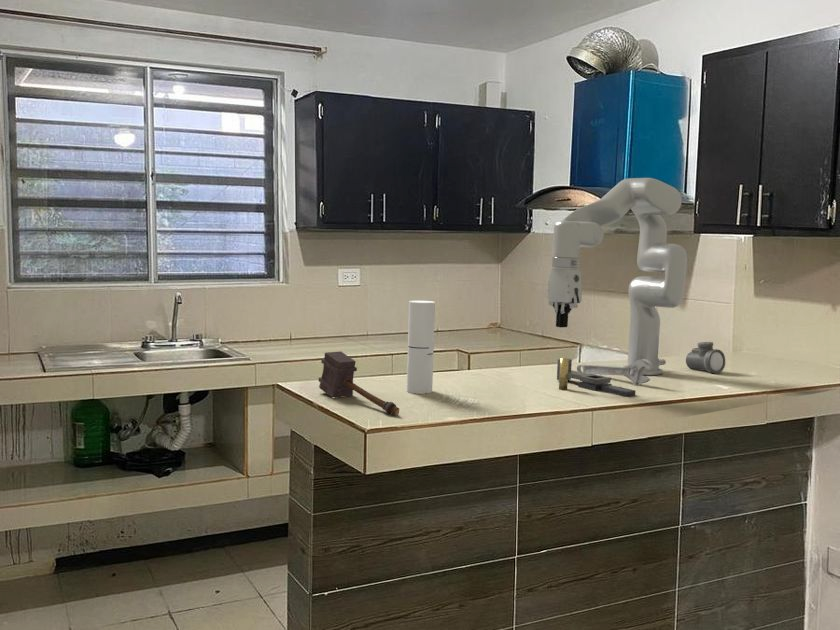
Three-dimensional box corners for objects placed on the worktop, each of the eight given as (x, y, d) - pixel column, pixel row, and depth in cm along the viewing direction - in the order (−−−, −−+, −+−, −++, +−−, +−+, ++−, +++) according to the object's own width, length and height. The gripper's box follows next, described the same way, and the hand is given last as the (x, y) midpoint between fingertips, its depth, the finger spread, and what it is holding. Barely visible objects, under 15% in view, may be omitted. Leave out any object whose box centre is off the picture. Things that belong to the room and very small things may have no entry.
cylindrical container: (402, 389, 225) (405, 300, 222) (426, 388, 228) (428, 300, 225) (412, 394, 218) (415, 303, 216) (436, 393, 221) (439, 302, 218)
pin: (563, 387, 234) (564, 357, 233) (569, 389, 232) (570, 358, 231) (557, 388, 232) (558, 358, 231) (563, 390, 230) (564, 359, 229)
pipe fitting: (728, 371, 267) (725, 341, 267) (711, 375, 264) (708, 344, 263) (699, 370, 278) (697, 340, 277) (683, 373, 274) (680, 343, 274)
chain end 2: (593, 384, 240) (594, 380, 240) (638, 394, 227) (638, 390, 226) (577, 386, 236) (578, 382, 236) (622, 397, 223) (622, 392, 222)
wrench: (580, 381, 262) (654, 386, 237) (576, 381, 261) (650, 386, 236) (579, 356, 262) (653, 359, 237) (575, 357, 261) (649, 360, 236)
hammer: (338, 384, 221) (343, 350, 218) (405, 434, 196) (411, 395, 193) (316, 387, 217) (321, 352, 214) (382, 437, 192) (388, 398, 189)
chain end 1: (568, 378, 248) (569, 358, 247) (610, 387, 235) (611, 366, 234) (554, 379, 244) (555, 359, 244) (595, 389, 231) (596, 368, 230)
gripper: (593, 265, 228) (589, 329, 230) (556, 262, 240) (553, 323, 242) (574, 265, 223) (570, 330, 225) (537, 262, 236) (534, 324, 238)
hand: (561, 326), depth 234 cm, fingers closed
